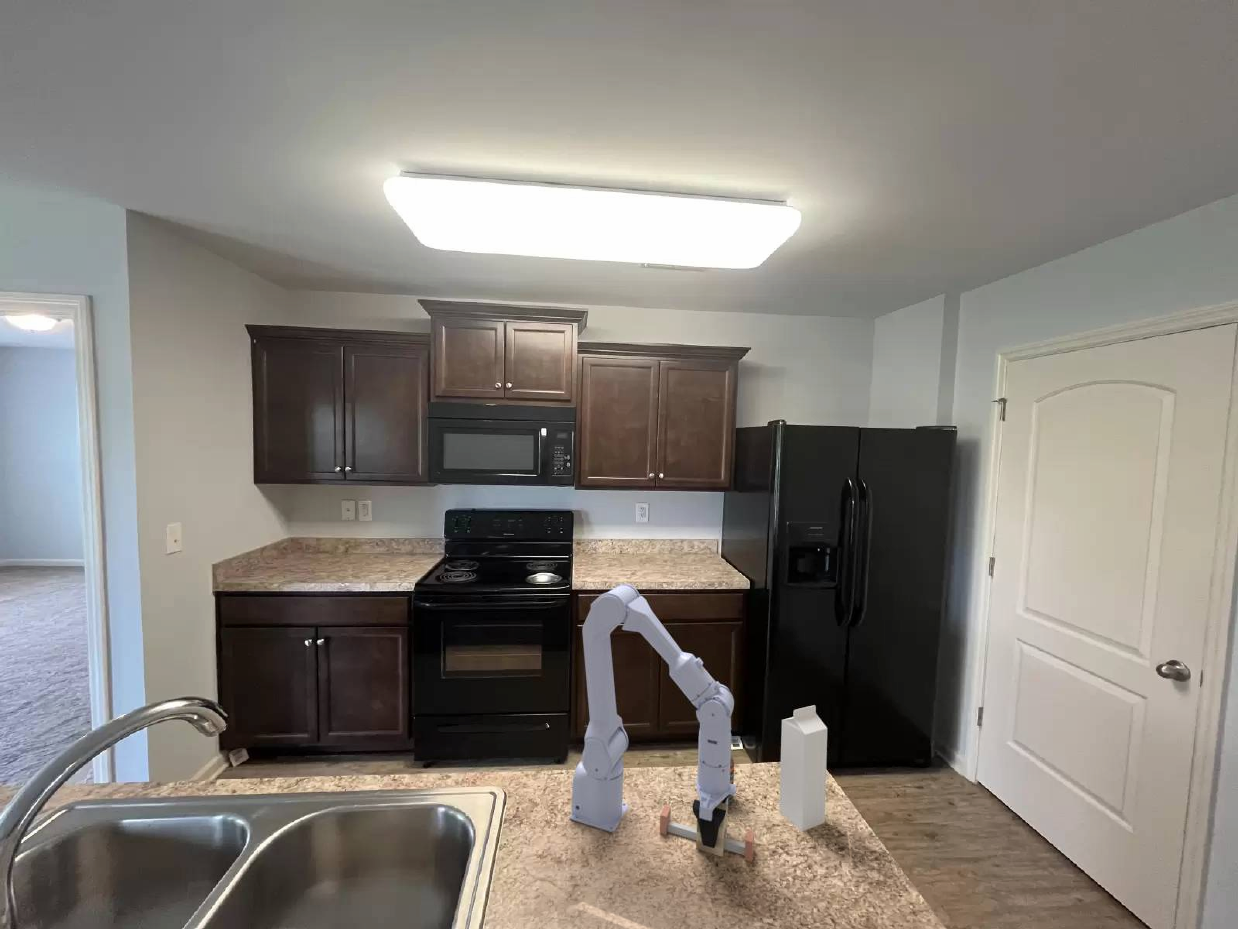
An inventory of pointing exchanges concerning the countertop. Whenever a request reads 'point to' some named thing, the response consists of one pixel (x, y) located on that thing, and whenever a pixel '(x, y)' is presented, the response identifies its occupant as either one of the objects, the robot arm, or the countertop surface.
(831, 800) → the countertop surface
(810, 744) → the milk
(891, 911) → the countertop surface
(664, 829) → the rail board
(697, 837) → the slider block
